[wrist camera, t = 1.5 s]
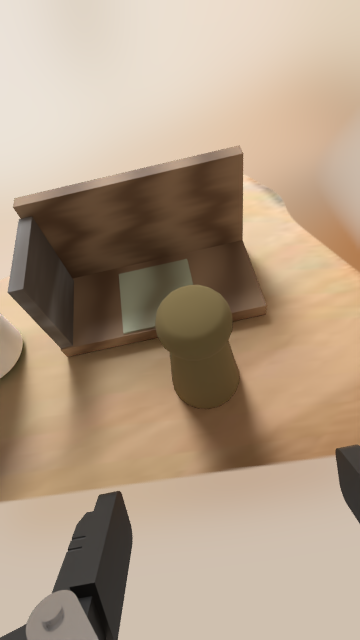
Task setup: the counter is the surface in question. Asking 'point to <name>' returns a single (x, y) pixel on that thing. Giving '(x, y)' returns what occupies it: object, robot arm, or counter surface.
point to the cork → (198, 345)
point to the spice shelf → (132, 250)
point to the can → (9, 345)
